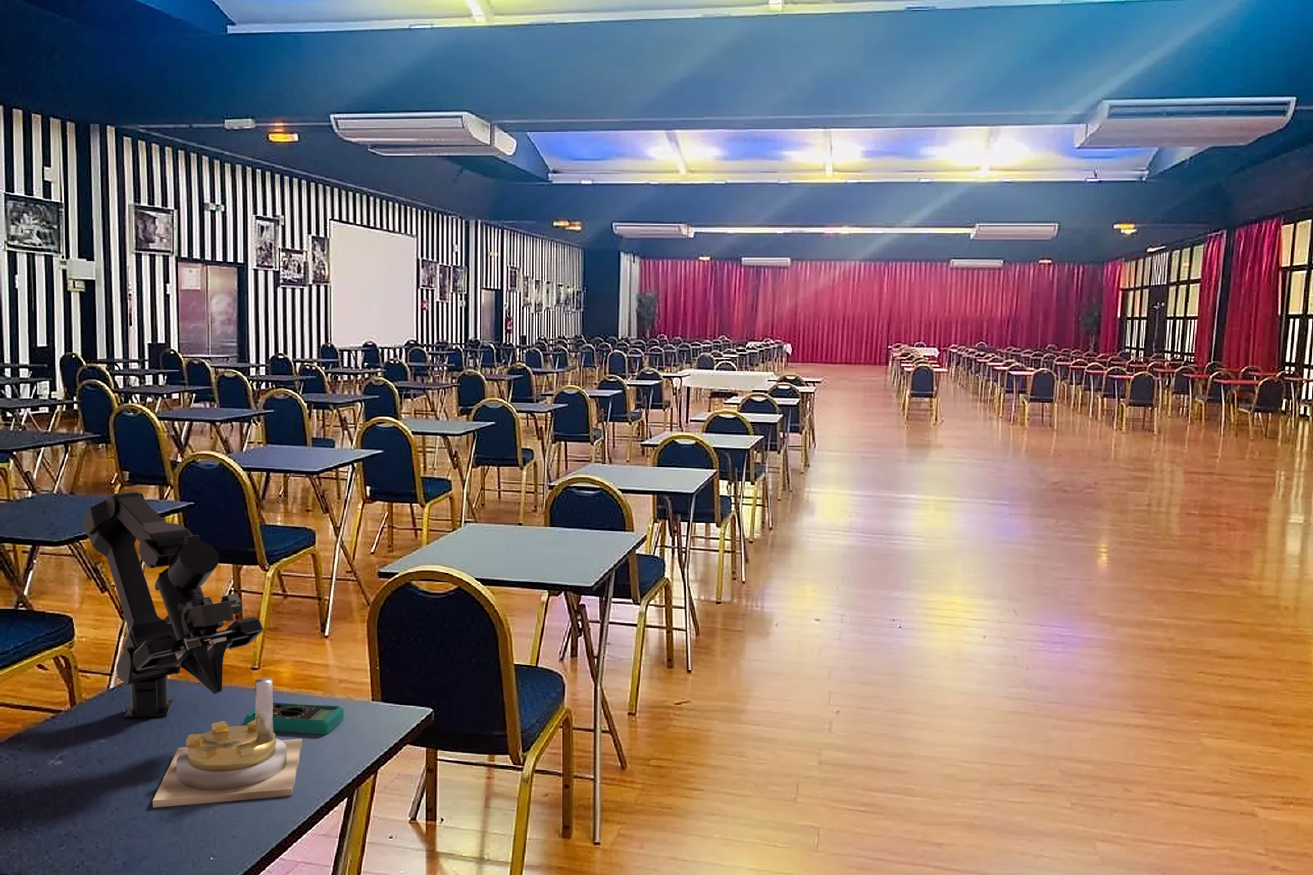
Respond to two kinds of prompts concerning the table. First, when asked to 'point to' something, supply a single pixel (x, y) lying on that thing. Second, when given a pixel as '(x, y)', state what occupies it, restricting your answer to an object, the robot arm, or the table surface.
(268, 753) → the round base with post
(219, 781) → the cap housing
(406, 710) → the table surface
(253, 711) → the digital multimeter
